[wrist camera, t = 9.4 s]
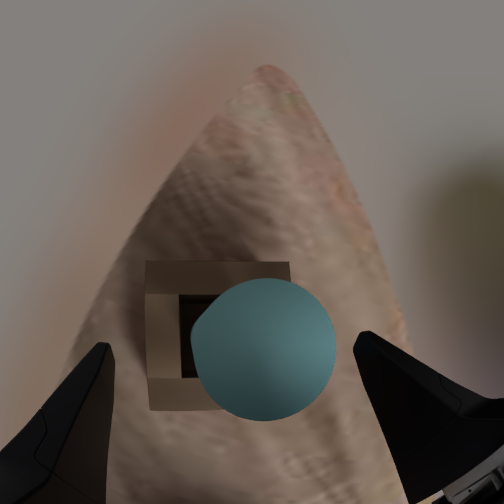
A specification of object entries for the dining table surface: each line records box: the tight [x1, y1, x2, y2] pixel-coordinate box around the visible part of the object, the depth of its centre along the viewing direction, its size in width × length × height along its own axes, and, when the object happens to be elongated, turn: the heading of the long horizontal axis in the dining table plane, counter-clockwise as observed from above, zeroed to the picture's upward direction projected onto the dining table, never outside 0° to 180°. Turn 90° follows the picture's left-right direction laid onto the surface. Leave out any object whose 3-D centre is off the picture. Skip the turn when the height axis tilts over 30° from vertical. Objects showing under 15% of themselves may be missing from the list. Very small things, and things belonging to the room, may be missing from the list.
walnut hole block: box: [145, 261, 291, 411], centre depth 17 cm, size 8×8×4 cm
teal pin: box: [190, 278, 336, 421], centre depth 12 cm, size 3×3×13 cm
